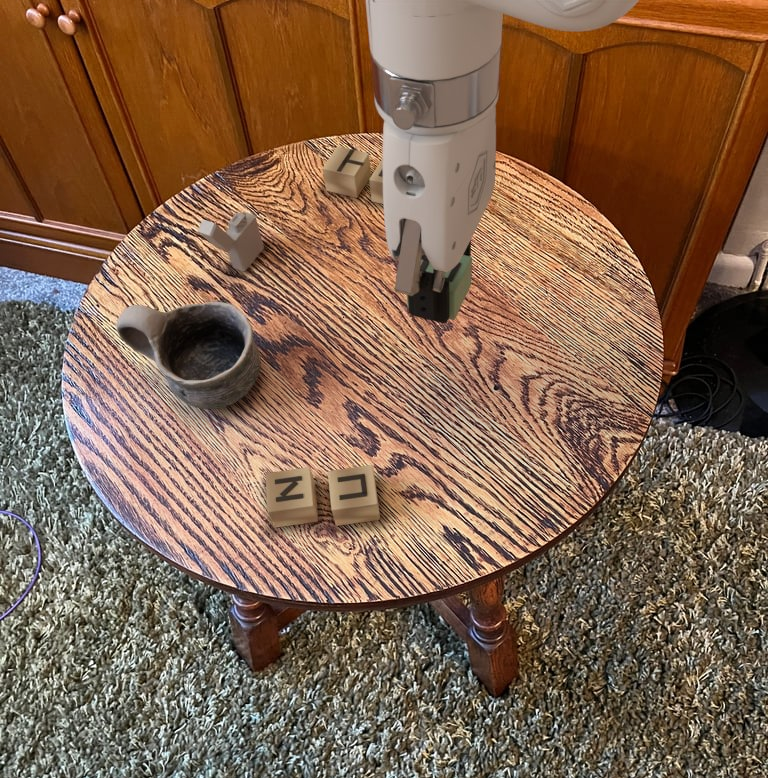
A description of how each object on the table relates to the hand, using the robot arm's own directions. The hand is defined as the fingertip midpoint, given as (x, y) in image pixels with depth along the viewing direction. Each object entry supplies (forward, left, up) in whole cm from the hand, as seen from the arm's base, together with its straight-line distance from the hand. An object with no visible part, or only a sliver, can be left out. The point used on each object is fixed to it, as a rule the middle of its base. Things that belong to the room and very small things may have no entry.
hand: (439, 293), depth 61 cm
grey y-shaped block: (+19, -22, -14) cm, 32 cm away
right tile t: (+1, -30, -14) cm, 33 cm away
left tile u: (+9, +10, -14) cm, 20 cm away
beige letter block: (+6, -33, -14) cm, 36 cm away
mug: (+23, -6, -14) cm, 28 cm away
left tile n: (+15, +9, -14) cm, 23 cm away
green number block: (0, 0, 0) cm, 0 cm away
